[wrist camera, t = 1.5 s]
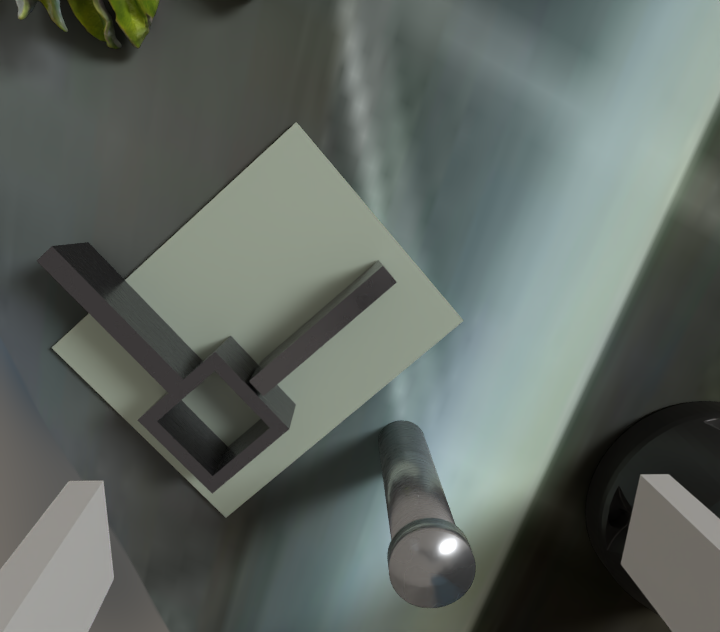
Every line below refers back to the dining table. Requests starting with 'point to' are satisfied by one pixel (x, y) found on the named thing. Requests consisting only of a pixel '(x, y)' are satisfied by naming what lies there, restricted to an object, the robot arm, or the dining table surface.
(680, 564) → the robot arm
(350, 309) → the bolted dark bar
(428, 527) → the hinge pin
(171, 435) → the hinge base
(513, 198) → the dining table surface
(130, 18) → the passion flower
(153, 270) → the mat
